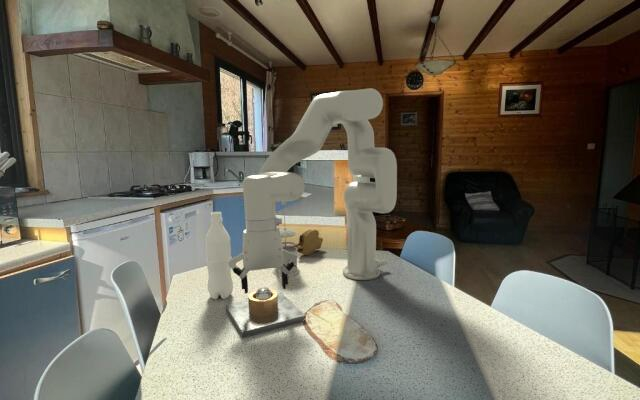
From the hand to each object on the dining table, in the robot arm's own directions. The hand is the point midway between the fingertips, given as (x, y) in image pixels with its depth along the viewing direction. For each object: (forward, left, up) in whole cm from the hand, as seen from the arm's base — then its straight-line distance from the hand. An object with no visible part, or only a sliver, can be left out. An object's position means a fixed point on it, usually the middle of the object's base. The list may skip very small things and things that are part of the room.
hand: (265, 289), depth 91 cm
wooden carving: (-33, -42, -7) cm, 54 cm away
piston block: (+1, 0, -7) cm, 7 cm away
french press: (-16, -27, -7) cm, 32 cm away
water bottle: (+8, -18, -7) cm, 21 cm away
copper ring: (+1, 0, -5) cm, 5 cm away
